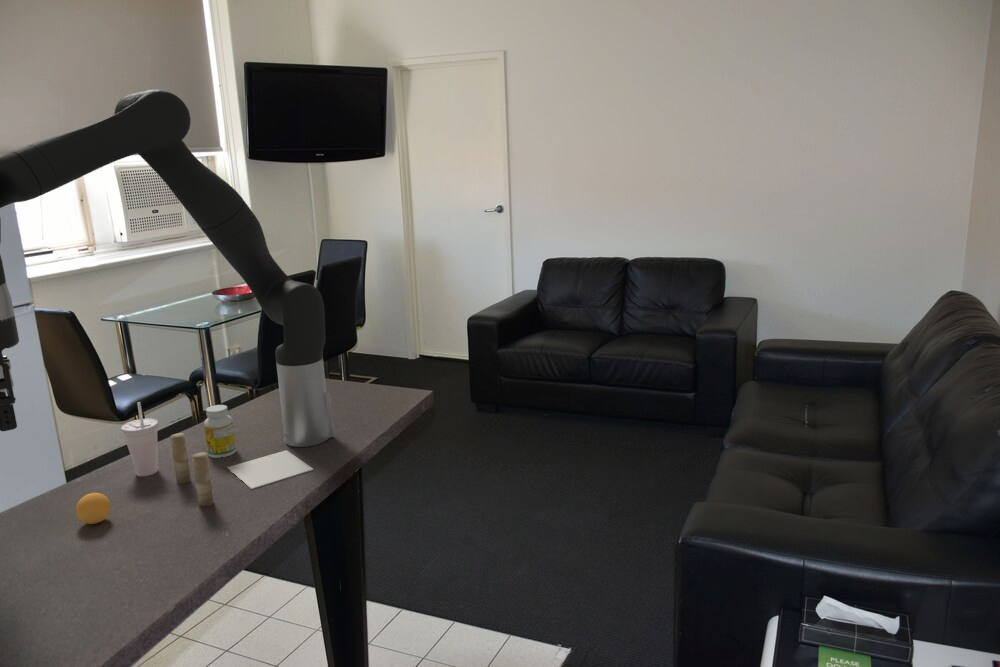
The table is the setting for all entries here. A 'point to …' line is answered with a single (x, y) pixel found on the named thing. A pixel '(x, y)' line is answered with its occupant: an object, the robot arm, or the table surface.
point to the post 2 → (202, 479)
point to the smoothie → (142, 443)
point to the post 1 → (180, 458)
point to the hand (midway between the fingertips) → (4, 422)
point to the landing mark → (269, 469)
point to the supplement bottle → (219, 432)
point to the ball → (93, 508)
